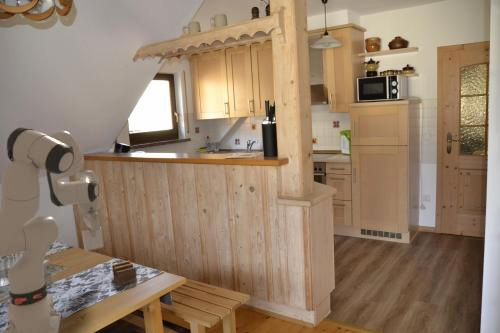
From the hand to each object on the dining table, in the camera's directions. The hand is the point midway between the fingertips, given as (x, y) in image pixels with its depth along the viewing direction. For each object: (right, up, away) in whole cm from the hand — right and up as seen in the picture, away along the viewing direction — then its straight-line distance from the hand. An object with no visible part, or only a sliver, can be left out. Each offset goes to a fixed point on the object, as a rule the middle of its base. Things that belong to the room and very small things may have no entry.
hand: (92, 235), depth 186 cm
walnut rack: (+15, -20, -1) cm, 25 cm away
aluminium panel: (0, -6, +1) cm, 6 cm away
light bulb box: (-23, -22, -4) cm, 32 cm away
